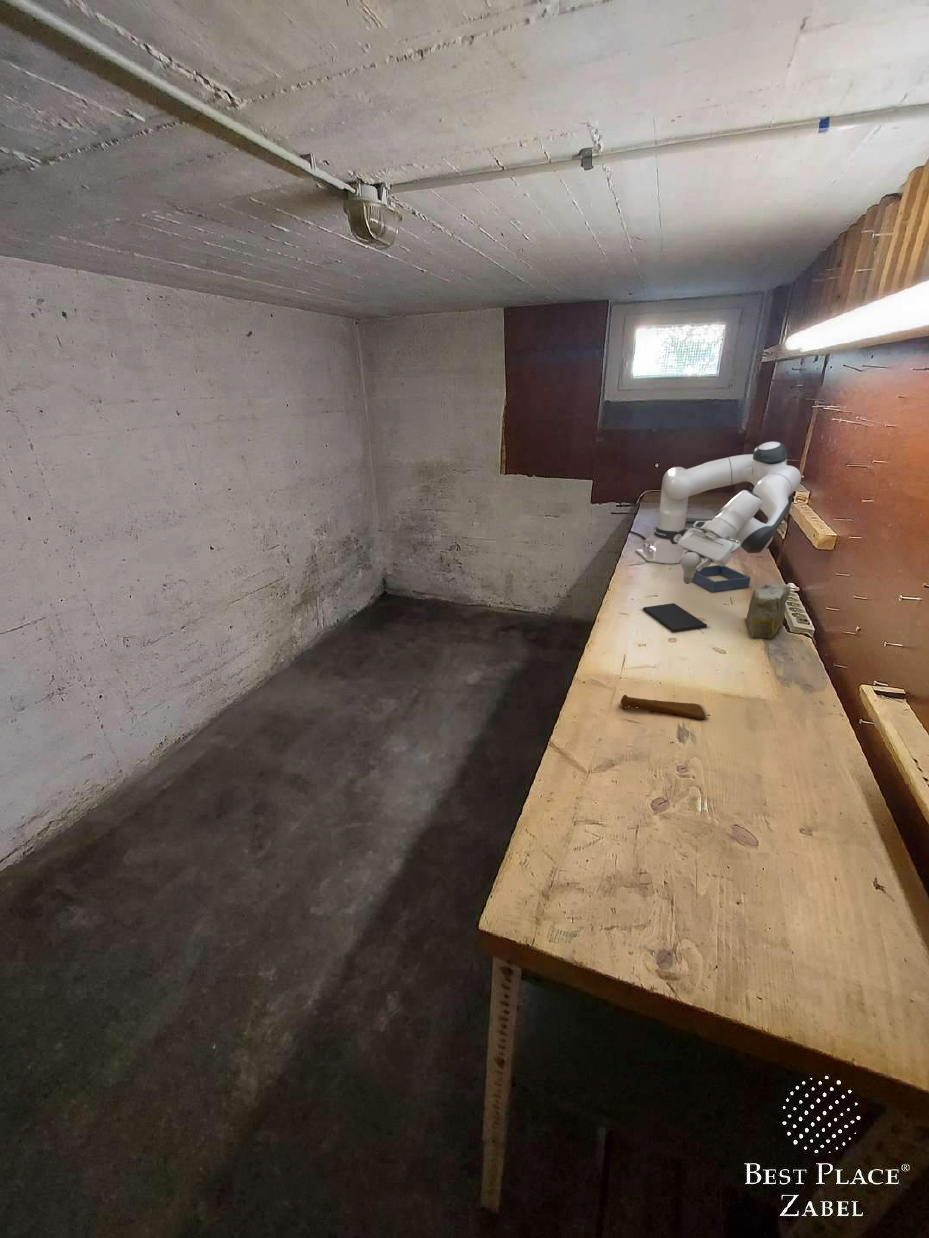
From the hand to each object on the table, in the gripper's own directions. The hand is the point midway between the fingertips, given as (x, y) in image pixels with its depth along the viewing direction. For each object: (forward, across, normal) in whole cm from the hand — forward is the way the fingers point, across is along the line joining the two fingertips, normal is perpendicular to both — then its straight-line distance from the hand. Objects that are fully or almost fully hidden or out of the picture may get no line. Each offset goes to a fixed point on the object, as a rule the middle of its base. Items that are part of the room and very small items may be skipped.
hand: (688, 566), depth 159 cm
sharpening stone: (-30, +74, -55) cm, 97 cm away
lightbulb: (+4, 0, -5) cm, 7 cm away
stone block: (+1, -20, -24) cm, 31 cm away
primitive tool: (+40, -44, +16) cm, 62 cm away
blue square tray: (-10, +18, -34) cm, 40 cm away
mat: (+15, -2, -9) cm, 18 cm away
